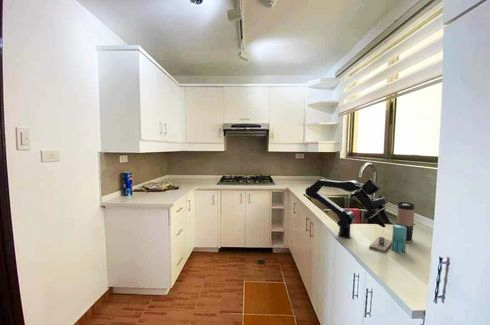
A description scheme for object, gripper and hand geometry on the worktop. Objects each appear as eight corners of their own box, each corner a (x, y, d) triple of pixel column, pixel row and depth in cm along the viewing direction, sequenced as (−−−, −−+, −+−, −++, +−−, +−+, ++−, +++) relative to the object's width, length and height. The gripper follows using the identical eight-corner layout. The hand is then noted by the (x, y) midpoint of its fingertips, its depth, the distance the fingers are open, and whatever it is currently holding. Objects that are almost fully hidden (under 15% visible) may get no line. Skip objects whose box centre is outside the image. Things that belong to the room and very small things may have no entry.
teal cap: (390, 246, 119) (391, 224, 118) (403, 248, 117) (404, 225, 116) (393, 251, 114) (394, 227, 113) (406, 253, 112) (407, 229, 111)
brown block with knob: (369, 248, 117) (369, 239, 117) (378, 239, 129) (378, 231, 129) (385, 252, 113) (385, 244, 112) (392, 242, 124) (393, 235, 124)
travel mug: (409, 236, 132) (411, 202, 131) (414, 242, 125) (417, 206, 123) (393, 235, 134) (395, 201, 133) (398, 240, 127) (400, 205, 126)
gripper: (371, 193, 114) (396, 220, 107) (381, 188, 128) (404, 212, 121) (354, 206, 120) (377, 232, 113) (365, 200, 134) (386, 223, 127)
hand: (387, 224), depth 118 cm, fingers open, 9 cm apart
